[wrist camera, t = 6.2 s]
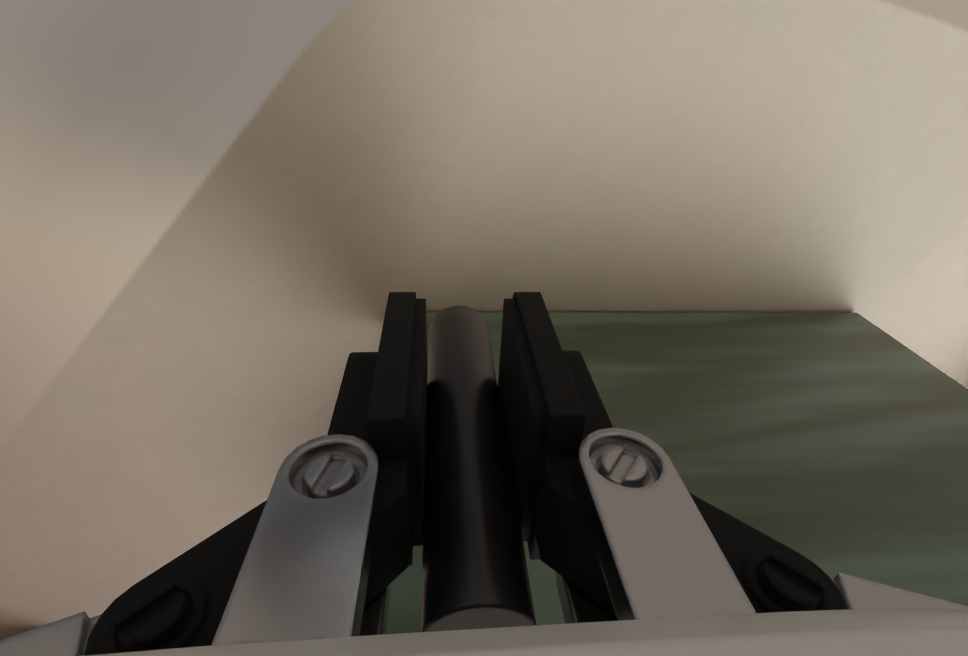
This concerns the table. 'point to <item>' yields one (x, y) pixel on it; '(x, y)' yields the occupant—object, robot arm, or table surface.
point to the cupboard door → (702, 451)
